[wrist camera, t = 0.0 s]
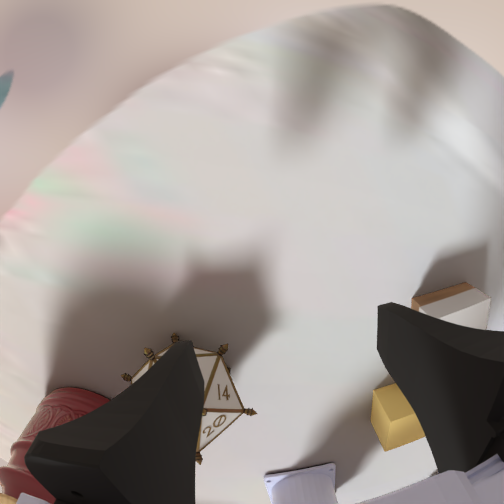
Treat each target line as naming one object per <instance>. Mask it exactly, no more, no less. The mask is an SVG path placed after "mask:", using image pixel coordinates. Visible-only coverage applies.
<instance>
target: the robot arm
mask: <svg viewBox="0 0 504 504" xmlns="http://www.w3.org/2000/svg"><path fill="white" fill-rule="evenodd" d="M377 350H378V352H379V355H380V357H381V359H382V361H383V363H384V365H385V367H386V369H387V371H388V372H389V374H390V375H391V377H392V378H393V380H394V381H395V383H396V384H397V386H398V387H399V389H400V390H401V392H402V393H403V395H404V396H405V398H406V399H407V401H408V402H409V404H410V405H411V407H412V409H413V410H414V412H415V414H416V416H417V418H418V420H419V422H420V425H421V427H422V429H423V431H424V433H425V436H426V438H427V441H428V443H429V446H430V448H431V451H432V454H433V457H434V460H435V462H436V465H437V468H438V472H439V474H437V475H434V476H431V477H429V478H426V479H424V480H422V481H419V482H417V483H415V484H412V485H410V486H407V487H404V488H402V489H399V490H397V491H394V492H391V493H388V494H385V495H382V496H379V497H376V498H373V499H370V500H367V501H363V502H360V503H356V504H504V331H491V330H483V329H476V328H471V327H466V326H462V325H458V324H454V323H451V322H447V321H444V320H441V319H438V318H435V317H432V316H429V315H427V314H424V313H421V312H419V311H416V310H413V309H411V308H408V307H405V306H402V305H400V304H396V303H393V302H391V303H387V304H383V305H379V306H378V330H377ZM204 383H205V382H204V379H203V376H202V373H201V370H200V367H199V363H198V360H197V357H196V354H195V351H194V348H193V345H192V341H191V340H190V341H182V342H176V343H175V344H173V345H172V346H171V347H170V348H169V349H168V350H167V351H166V352H165V353H164V354H163V355H162V356H161V358H160V359H159V360H158V361H157V362H156V363H155V364H154V365H153V366H152V367H151V368H150V369H149V370H148V371H146V372H145V373H144V374H143V375H142V376H141V377H140V378H139V379H138V380H136V381H135V382H134V383H133V384H132V385H131V386H130V387H128V388H127V389H126V390H124V391H123V392H122V393H120V394H119V395H118V396H116V397H115V398H113V399H112V400H110V401H109V402H107V403H105V404H104V405H102V406H100V407H99V408H97V409H95V410H93V411H92V412H90V413H88V414H86V415H84V416H81V417H79V418H77V419H75V420H72V421H70V422H67V423H65V424H62V425H59V426H56V427H53V428H49V429H46V430H43V431H39V432H38V434H37V436H36V437H35V439H34V441H33V442H32V444H31V446H30V448H29V449H28V451H27V453H26V455H25V456H24V461H25V464H26V466H27V468H28V470H29V471H30V473H31V474H32V475H33V476H34V477H35V478H36V480H37V481H38V482H39V483H40V484H41V485H42V486H43V487H44V488H45V489H46V490H47V491H48V492H49V493H50V494H51V495H53V496H54V497H55V498H56V500H55V502H54V504H195V458H196V449H197V442H198V436H199V431H200V425H201V419H202V413H203V407H204ZM335 469H336V466H335V464H334V463H329V464H325V465H321V466H316V467H311V468H306V469H301V470H295V471H290V472H283V473H277V474H270V475H265V476H264V482H265V485H266V488H267V491H268V494H269V497H270V500H271V503H272V504H338V502H337V498H336V495H335ZM16 504H50V503H48V502H47V501H44V500H42V499H39V498H36V497H34V496H31V495H28V494H25V493H21V494H20V496H19V498H18V500H17V502H16Z"/></svg>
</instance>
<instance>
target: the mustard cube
mask: <svg viewBox="0 0 504 504" xmlns="http://www.w3.org/2000/svg"><path fill="white" fill-rule="evenodd" d="M371 423H372V425H373V427H374V429H375V432H376V434H377V436H378V438H379V440H380V443H381V445H382V447H383V449H384V451H388V450H391V449H394V448H397V447H400V446H402V445H405V444H408V443H410V442H413V441H415V440H418V439H420V438H423V437H425V433H424V431H423V429H422V427H421V425H420V422H419V420H418V418H417V416H416V414H415V412H414V410H413V409H412V407H411V405H410V404H409V402H408V401H407V399H406V398H405V396H404V395H403V393H402V392H401V390H400V389H399V387H398V386H397V384H396V383H394V384H391V385H388V386H385V387H382V388H378V389H375V390H373V401H372V411H371Z"/></svg>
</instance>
